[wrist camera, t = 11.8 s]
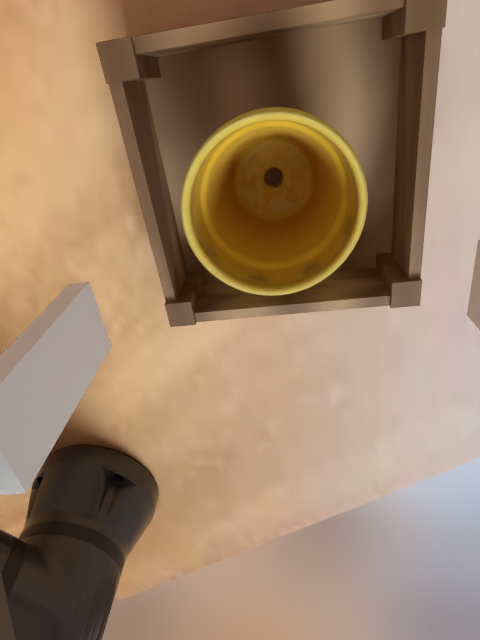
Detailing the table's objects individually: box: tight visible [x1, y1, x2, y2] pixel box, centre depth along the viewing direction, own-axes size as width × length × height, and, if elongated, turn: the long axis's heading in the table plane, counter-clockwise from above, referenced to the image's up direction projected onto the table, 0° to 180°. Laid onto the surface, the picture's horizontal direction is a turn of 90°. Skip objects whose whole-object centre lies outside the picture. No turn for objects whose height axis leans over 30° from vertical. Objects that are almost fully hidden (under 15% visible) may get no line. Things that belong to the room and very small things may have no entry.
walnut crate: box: [96, 0, 447, 327], centre depth 29 cm, size 19×19×6 cm
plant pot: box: [181, 107, 368, 296], centre depth 27 cm, size 10×10×10 cm
